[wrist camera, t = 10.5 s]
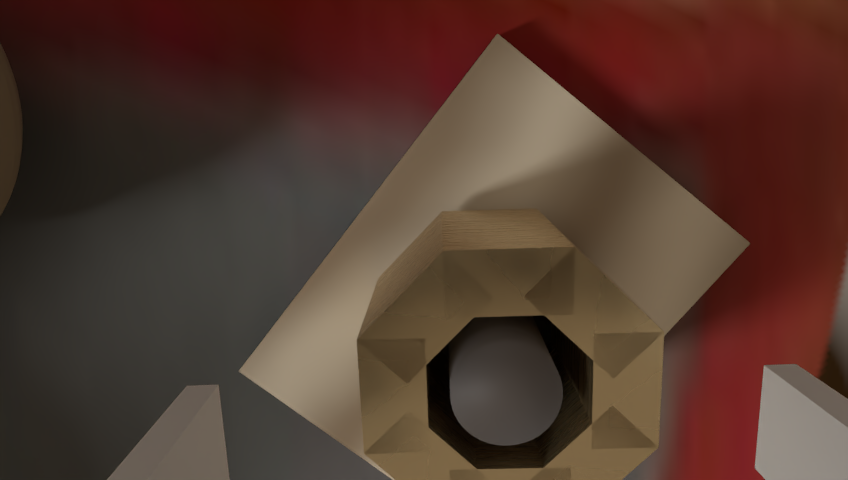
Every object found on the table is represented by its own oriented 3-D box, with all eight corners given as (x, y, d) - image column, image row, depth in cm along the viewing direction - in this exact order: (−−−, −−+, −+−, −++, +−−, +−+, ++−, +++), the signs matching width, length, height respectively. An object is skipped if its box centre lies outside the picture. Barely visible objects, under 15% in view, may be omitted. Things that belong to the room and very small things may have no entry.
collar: (386, 420, 23) (368, 528, 17) (375, 213, 21) (350, 253, 15) (598, 416, 23) (654, 523, 17) (604, 206, 21) (669, 243, 15)
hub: (248, 358, 25) (157, 477, 17) (494, 37, 22) (526, -4, 14) (474, 519, 26) (490, 700, 18) (734, 236, 23) (890, 303, 15)
